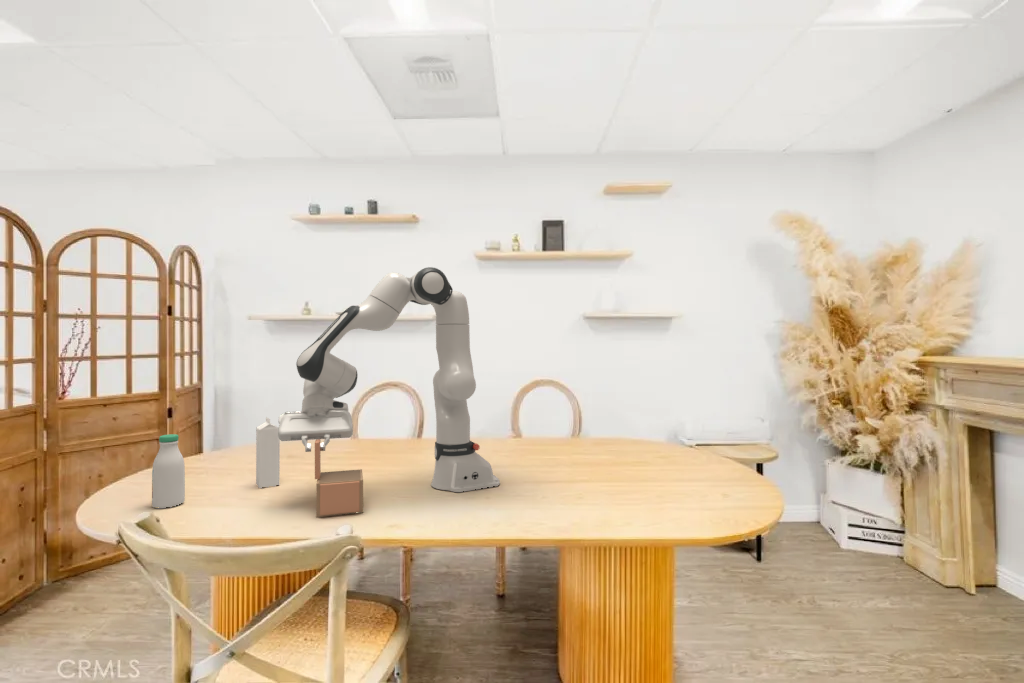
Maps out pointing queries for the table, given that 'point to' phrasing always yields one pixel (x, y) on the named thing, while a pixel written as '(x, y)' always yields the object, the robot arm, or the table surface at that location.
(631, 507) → the table surface
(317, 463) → the flap
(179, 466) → the milk bottle
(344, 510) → the carton
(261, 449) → the milk
